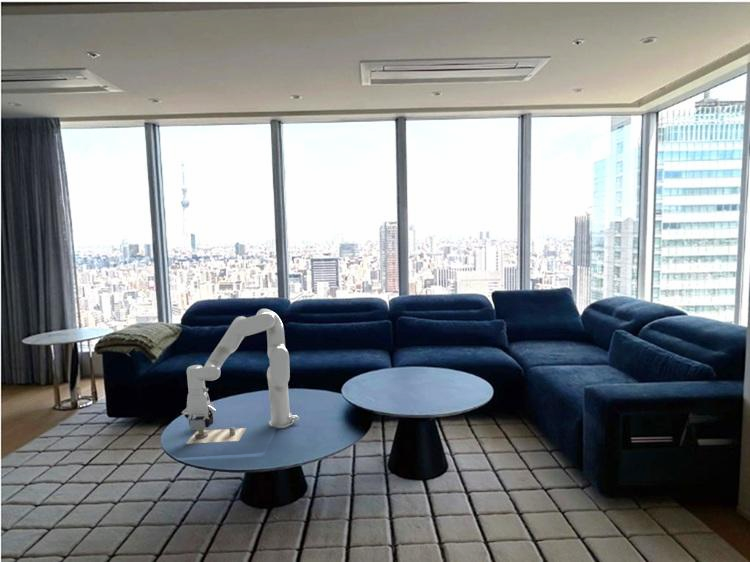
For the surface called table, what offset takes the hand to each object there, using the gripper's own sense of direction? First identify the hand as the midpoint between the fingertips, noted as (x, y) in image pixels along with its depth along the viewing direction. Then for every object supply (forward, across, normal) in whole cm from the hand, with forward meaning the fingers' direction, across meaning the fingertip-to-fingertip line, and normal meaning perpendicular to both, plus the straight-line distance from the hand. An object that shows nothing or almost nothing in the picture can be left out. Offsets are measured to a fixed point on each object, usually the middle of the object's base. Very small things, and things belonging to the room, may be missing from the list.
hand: (200, 426), depth 223 cm
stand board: (+6, -8, 0) cm, 10 cm away
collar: (0, 0, 0) cm, 0 cm away
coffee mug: (+6, +3, -17) cm, 18 cm away
